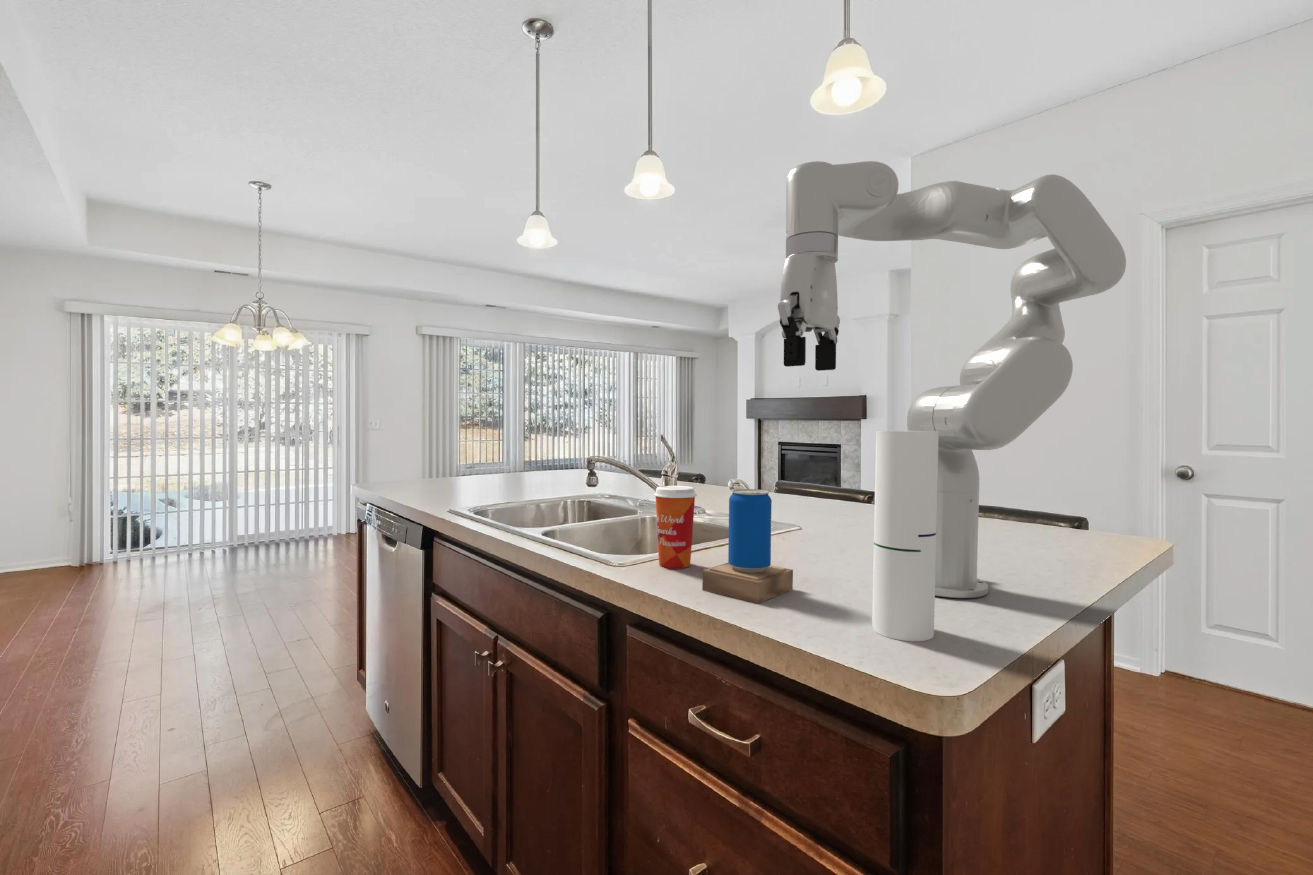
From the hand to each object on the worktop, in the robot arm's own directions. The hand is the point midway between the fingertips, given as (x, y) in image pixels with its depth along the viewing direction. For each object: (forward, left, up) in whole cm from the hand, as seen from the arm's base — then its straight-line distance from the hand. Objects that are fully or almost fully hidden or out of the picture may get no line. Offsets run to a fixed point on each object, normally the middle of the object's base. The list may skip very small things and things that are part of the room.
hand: (810, 368), depth 88 cm
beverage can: (+4, -8, -31) cm, 32 cm away
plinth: (+4, -8, -34) cm, 35 cm away
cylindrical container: (+6, +16, -34) cm, 38 cm away
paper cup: (0, -26, -34) cm, 43 cm away
